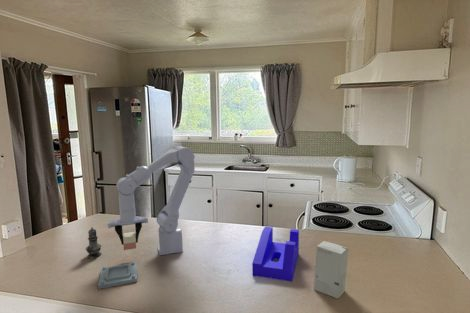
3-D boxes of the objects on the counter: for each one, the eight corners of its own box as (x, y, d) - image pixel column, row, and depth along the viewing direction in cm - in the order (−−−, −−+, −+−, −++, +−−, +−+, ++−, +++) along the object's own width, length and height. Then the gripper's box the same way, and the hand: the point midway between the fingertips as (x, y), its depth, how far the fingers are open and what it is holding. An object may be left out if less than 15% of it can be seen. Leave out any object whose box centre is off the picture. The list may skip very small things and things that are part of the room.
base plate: (136, 265, 115) (136, 260, 115) (137, 281, 104) (136, 276, 104) (101, 271, 111) (101, 266, 111) (98, 288, 100) (98, 283, 100)
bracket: (265, 250, 127) (265, 226, 125) (298, 254, 123) (298, 229, 121) (252, 276, 107) (252, 247, 106) (291, 282, 103) (292, 252, 101)
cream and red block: (135, 243, 122) (135, 231, 122) (136, 248, 118) (135, 236, 117) (123, 245, 121) (123, 233, 120) (123, 250, 117) (123, 237, 116)
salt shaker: (96, 259, 121) (93, 230, 119) (83, 258, 122) (80, 229, 120) (105, 252, 126) (103, 224, 125) (92, 251, 128) (90, 224, 126)
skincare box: (313, 290, 98) (314, 245, 95) (321, 282, 102) (322, 239, 100) (339, 300, 92) (341, 253, 90) (346, 291, 97) (348, 246, 95)
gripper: (146, 203, 123) (148, 235, 125) (107, 208, 119) (110, 241, 121) (147, 208, 117) (149, 242, 119) (106, 213, 112) (109, 248, 114)
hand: (129, 242), depth 119 cm, fingers closed on cream and red block, 4 cm apart
